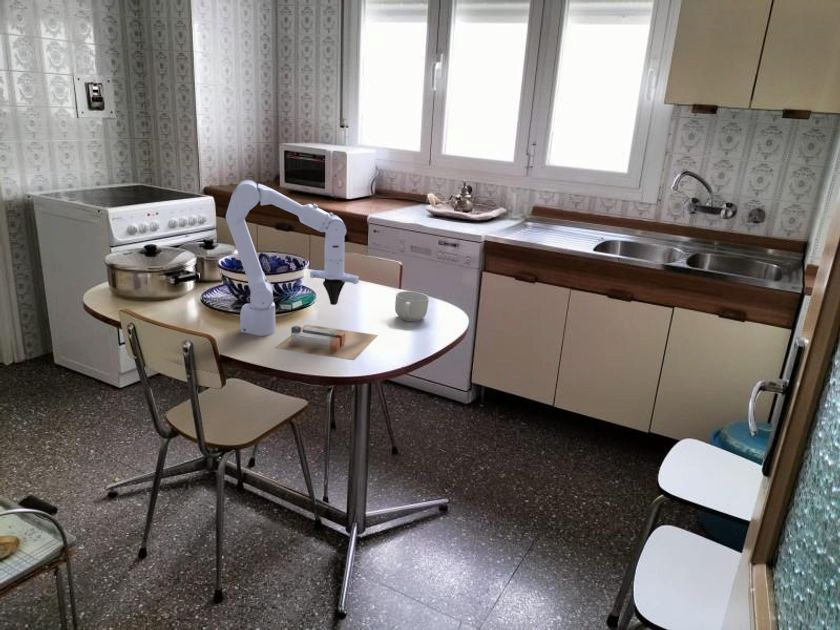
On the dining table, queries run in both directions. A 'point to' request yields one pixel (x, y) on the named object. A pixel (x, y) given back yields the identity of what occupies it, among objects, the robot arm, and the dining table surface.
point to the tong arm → (326, 333)
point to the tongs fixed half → (314, 340)
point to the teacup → (411, 305)
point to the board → (348, 350)
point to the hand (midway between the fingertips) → (333, 303)
